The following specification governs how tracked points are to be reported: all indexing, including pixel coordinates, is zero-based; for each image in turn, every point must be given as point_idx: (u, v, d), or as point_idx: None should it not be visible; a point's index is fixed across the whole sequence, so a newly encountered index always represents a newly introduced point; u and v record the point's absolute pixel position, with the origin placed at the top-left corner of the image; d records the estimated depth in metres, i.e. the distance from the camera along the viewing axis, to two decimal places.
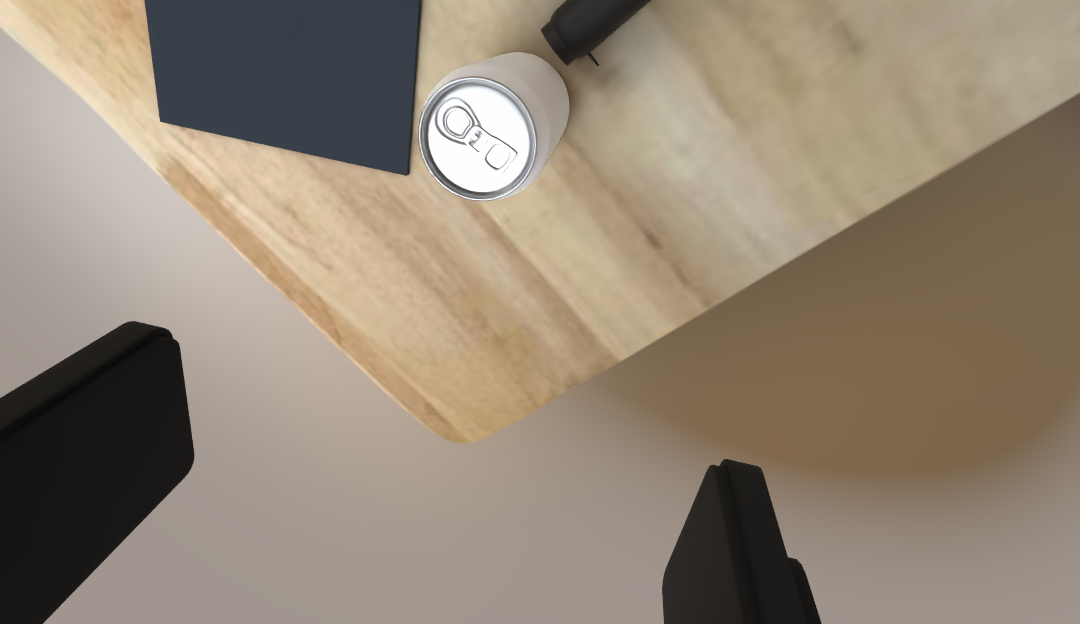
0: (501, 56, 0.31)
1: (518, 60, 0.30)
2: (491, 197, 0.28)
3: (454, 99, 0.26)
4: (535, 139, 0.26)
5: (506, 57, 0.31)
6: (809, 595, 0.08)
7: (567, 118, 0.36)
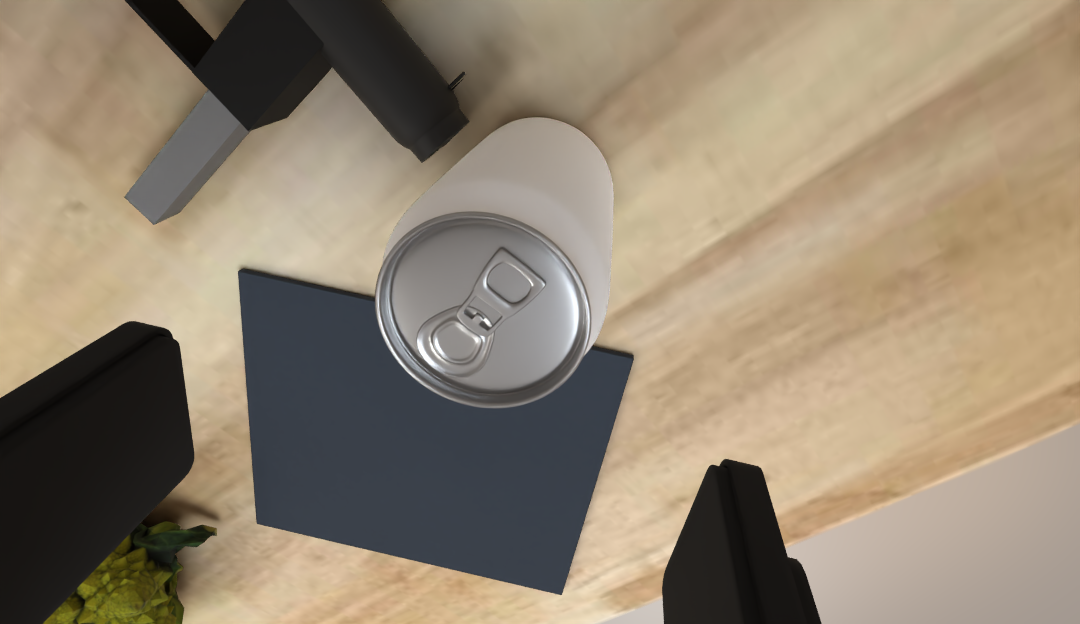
0: None
1: None
2: (584, 303, 0.14)
3: (420, 343, 0.16)
4: (468, 215, 0.14)
5: None
6: (808, 595, 0.08)
7: (546, 122, 0.22)
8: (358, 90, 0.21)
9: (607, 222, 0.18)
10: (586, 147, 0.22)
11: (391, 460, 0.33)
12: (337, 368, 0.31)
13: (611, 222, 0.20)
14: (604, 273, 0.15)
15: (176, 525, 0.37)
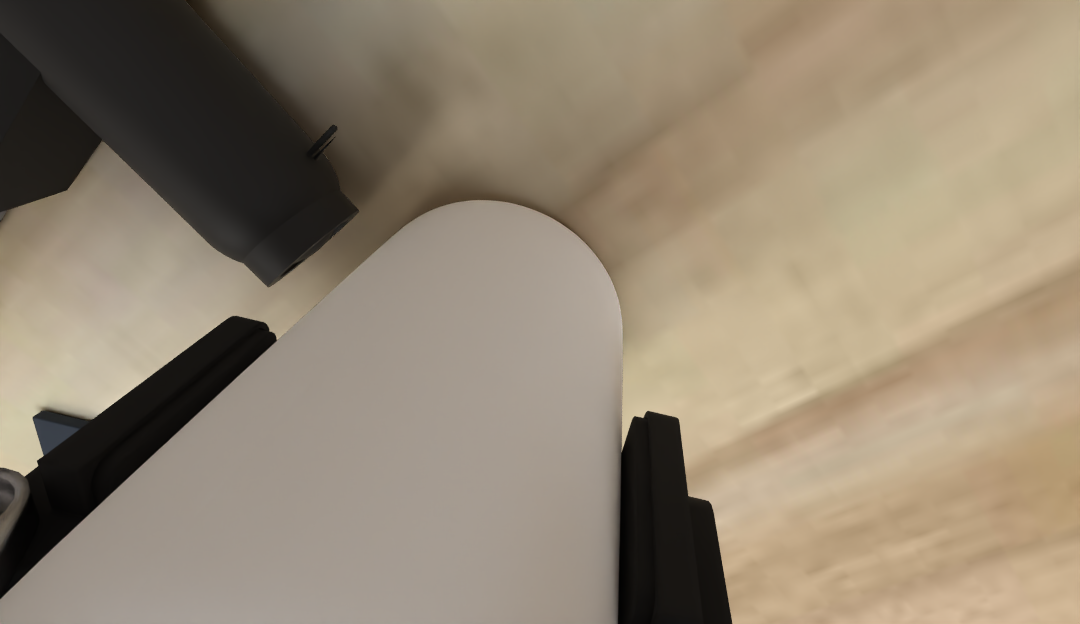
0: None
1: None
2: None
3: None
4: None
5: None
6: (714, 530, 0.09)
7: (496, 216, 0.12)
8: (126, 161, 0.11)
9: (609, 506, 0.08)
10: (570, 271, 0.11)
11: None
12: None
13: (618, 463, 0.09)
14: None
15: None
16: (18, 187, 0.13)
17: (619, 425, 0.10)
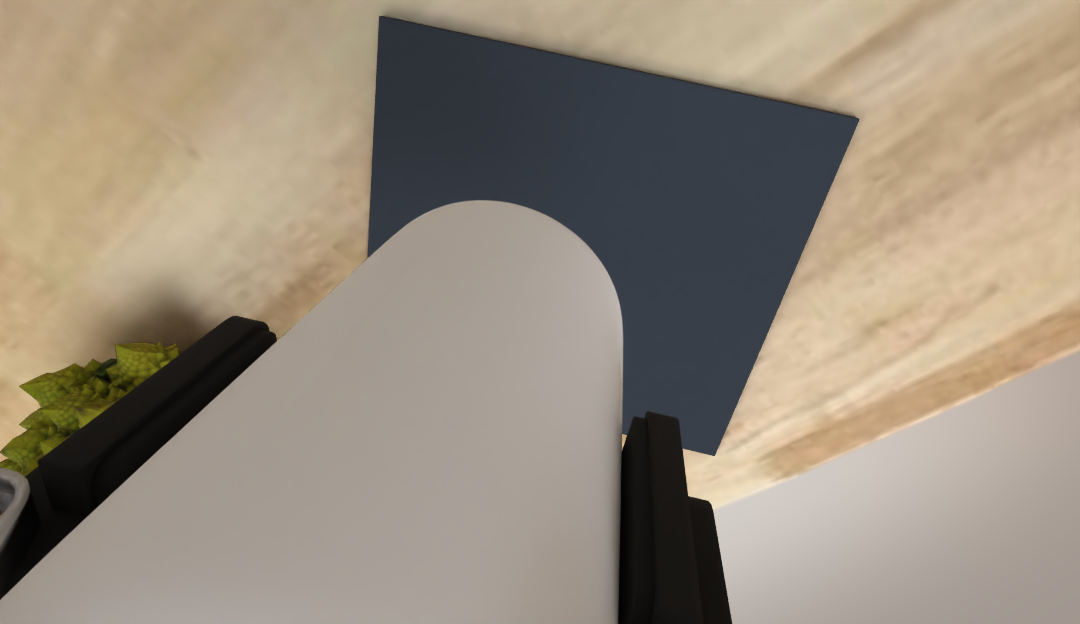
0: None
1: None
2: None
3: None
4: None
5: None
6: (714, 530, 0.09)
7: (496, 216, 0.12)
8: None
9: (609, 506, 0.08)
10: (570, 272, 0.11)
11: None
12: (485, 151, 0.26)
13: (619, 463, 0.09)
14: None
15: None
16: None
17: (619, 425, 0.10)
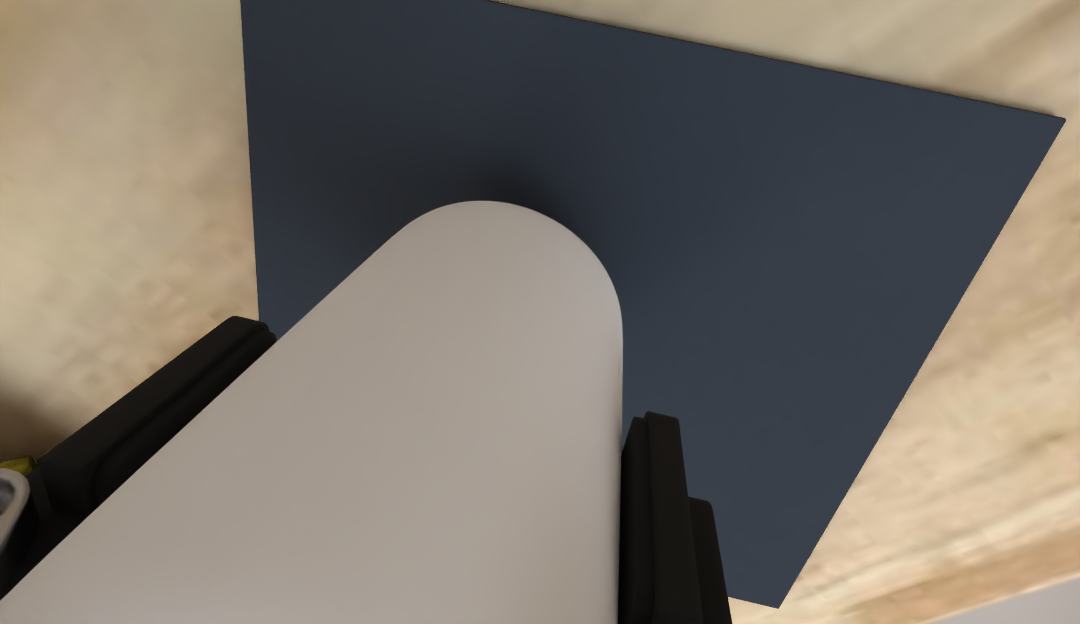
0: None
1: None
2: None
3: None
4: None
5: None
6: (714, 530, 0.09)
7: (496, 217, 0.12)
8: None
9: (609, 507, 0.08)
10: (570, 272, 0.11)
11: None
12: (427, 176, 0.16)
13: (618, 464, 0.09)
14: None
15: None
16: None
17: (619, 426, 0.10)
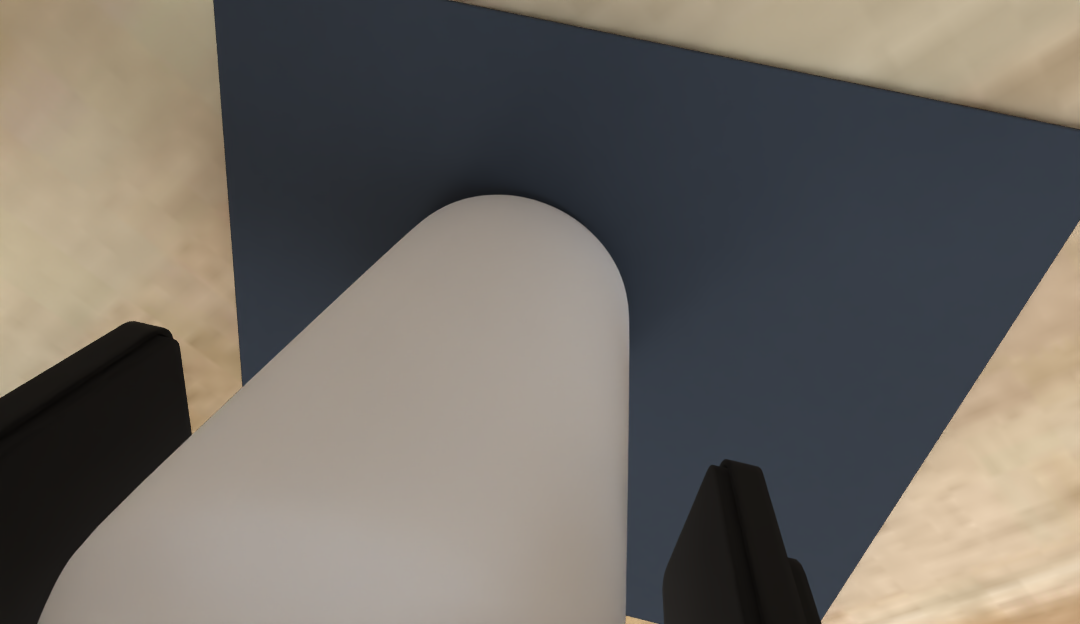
0: None
1: None
2: None
3: None
4: None
5: None
6: (808, 595, 0.08)
7: (512, 209, 0.13)
8: None
9: (618, 466, 0.08)
10: (581, 260, 0.12)
11: None
12: (418, 197, 0.15)
13: (626, 432, 0.10)
14: None
15: None
16: None
17: (626, 400, 0.11)
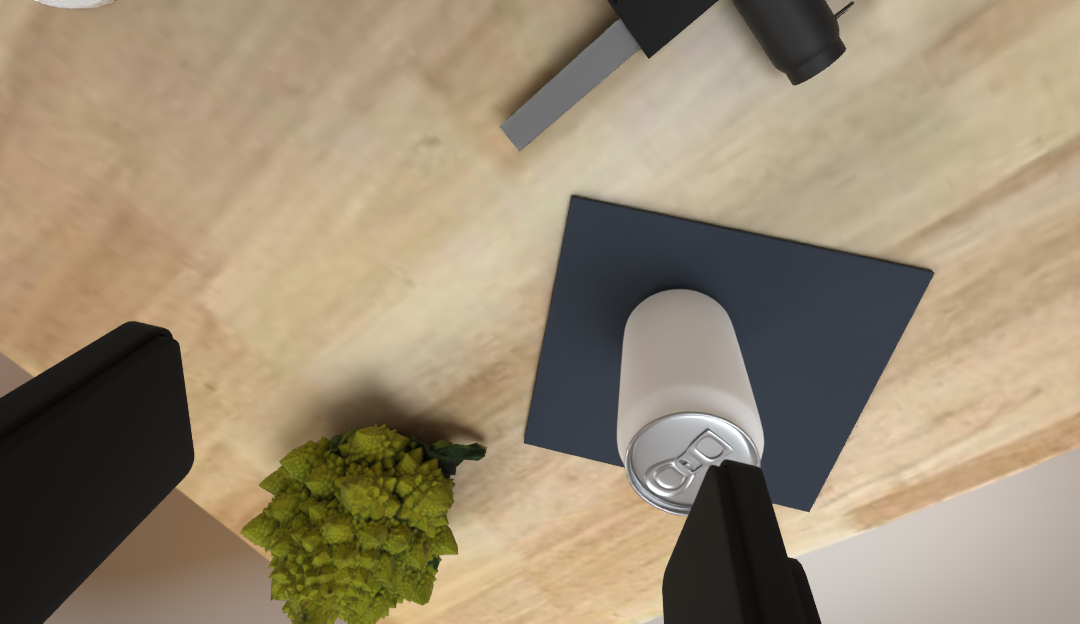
0: None
1: (623, 369, 0.30)
2: (757, 462, 0.24)
3: (646, 476, 0.26)
4: (693, 414, 0.23)
5: (620, 378, 0.30)
6: (809, 594, 0.08)
7: (692, 297, 0.32)
8: (764, 18, 0.25)
9: None
10: (723, 319, 0.32)
11: None
12: (642, 288, 0.34)
13: None
14: (763, 437, 0.25)
15: None
16: None
17: None
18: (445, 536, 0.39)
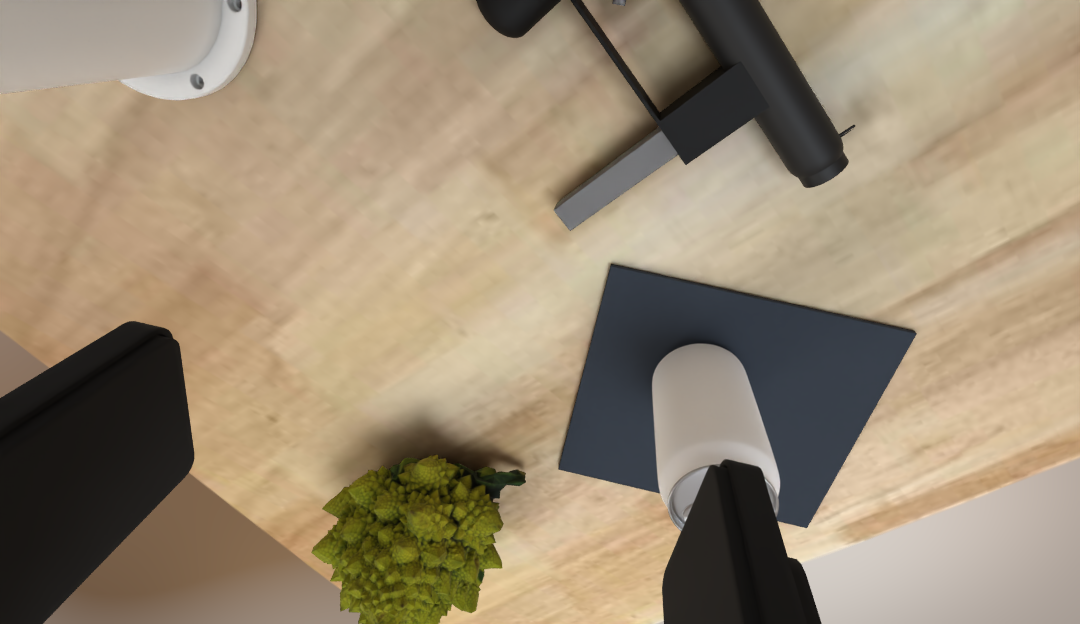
0: (654, 423, 0.37)
1: (658, 417, 0.35)
2: (776, 503, 0.30)
3: (684, 513, 0.31)
4: None
5: (655, 424, 0.36)
6: (808, 595, 0.08)
7: (713, 352, 0.38)
8: (782, 138, 0.31)
9: None
10: (740, 372, 0.37)
11: None
12: (669, 341, 0.40)
13: None
14: (779, 481, 0.31)
15: (494, 470, 0.46)
16: None
17: None
18: (491, 553, 0.45)
